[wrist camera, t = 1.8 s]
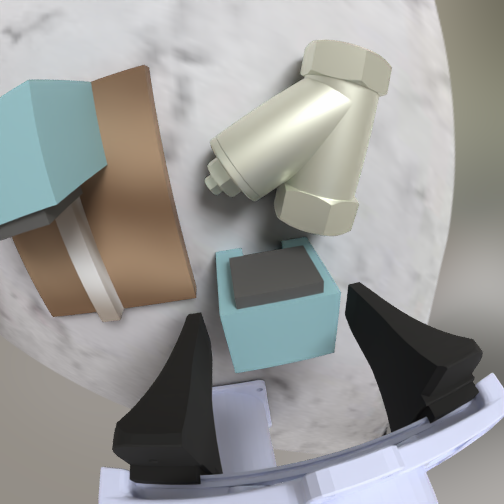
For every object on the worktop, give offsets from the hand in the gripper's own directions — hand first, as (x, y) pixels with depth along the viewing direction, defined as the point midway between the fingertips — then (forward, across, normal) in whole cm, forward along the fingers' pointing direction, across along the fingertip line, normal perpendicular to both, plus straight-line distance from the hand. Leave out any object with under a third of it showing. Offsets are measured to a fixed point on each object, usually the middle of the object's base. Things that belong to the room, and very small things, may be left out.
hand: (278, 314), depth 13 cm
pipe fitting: (+4, -2, -8) cm, 9 cm away
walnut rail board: (+3, +9, -6) cm, 11 cm away
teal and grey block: (+4, 0, 0) cm, 4 cm away
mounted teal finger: (+3, +9, -10) cm, 14 cm away
